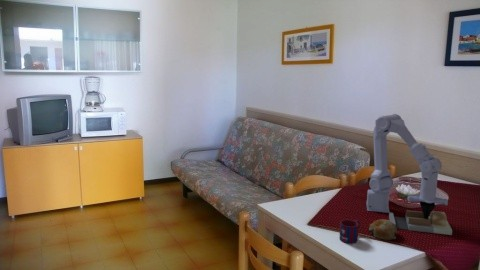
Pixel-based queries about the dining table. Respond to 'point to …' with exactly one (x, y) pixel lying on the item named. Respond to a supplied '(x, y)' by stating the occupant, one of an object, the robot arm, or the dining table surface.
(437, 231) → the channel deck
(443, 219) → the wooden block
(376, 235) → the bread roll
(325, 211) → the dining table surface
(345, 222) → the mug
